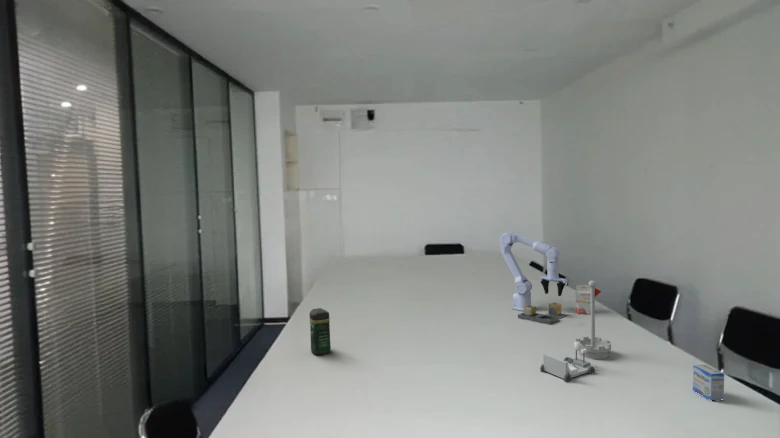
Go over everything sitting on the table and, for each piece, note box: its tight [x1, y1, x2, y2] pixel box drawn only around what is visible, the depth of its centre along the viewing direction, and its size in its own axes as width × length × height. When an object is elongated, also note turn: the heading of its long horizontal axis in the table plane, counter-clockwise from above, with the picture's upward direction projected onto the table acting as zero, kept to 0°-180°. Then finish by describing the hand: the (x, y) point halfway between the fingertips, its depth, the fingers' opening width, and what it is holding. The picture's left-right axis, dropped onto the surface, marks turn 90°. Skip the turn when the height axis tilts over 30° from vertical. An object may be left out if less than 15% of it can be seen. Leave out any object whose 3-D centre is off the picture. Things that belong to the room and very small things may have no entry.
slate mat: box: [544, 312, 568, 320], centre depth 242 cm, size 9×9×1 cm
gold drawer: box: [523, 304, 537, 317], centre depth 240 cm, size 4×5×6 cm
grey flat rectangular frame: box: [517, 312, 560, 325], centre depth 237 cm, size 18×9×2 cm, turn 42°
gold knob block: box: [548, 302, 562, 317], centre depth 242 cm, size 4×5×6 cm
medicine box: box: [692, 364, 725, 401], centre depth 146 cm, size 8×4×9 cm, turn 5°
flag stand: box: [575, 280, 612, 360], centre depth 185 cm, size 13×13×30 cm
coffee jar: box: [309, 307, 332, 355], centre depth 199 cm, size 10×8×19 cm
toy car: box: [539, 341, 596, 383], centre depth 169 cm, size 18×10×12 cm
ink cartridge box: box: [575, 284, 591, 315], centre depth 245 cm, size 9×5×15 cm, turn 84°
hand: (553, 294), depth 248 cm, fingers open, 7 cm apart
